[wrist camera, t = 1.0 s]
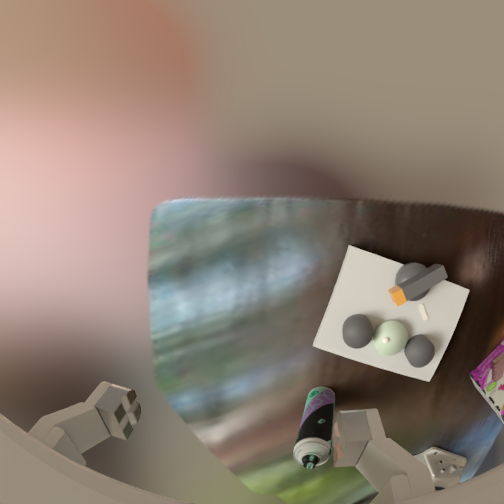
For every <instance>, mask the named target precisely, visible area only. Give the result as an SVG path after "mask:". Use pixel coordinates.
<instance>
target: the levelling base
mask: <svg viewBox="0 0 504 504" xmlns="http://www.w3.org/2000/svg"><path fill="white" fill-rule="evenodd" d="M402 266H403V264H401V263H398V262H395V261H393V260H390V259H387V258H384V257H381V256H379V255H376V254H373V253H370V252H367V251H364V250H361V249H359V248H356V247H353V246H350V245H349V246H348V250H347V253H346V256H345V259H344V262H343V265H342V268H341V271H340V273H339V276H338V279H337V282H336V285H335V288H334V290H333V293H332V296H331V299H330V301H329V304H328V307H327V309H326V312H325V314H324V317H323V320H322V322H321V325H320V327H319V330H318V332H317V335H316V337H315V340H314V343H313V346H314V347H317V348H320V349H323V350H326V351H329V352H331V353H334V354H337V355H340V356H343V357H346V358H350V359H353V360H356V361H359V362H362V363H365V364H368V365H372V366H375V367H378V368H382V369H385V370H388V371H392V372H395V373H399V374H402V375H406V376H409V377H413V378H417V379H421V380H424V381H428V382H429V381H430V380H431V378H432V376H433V374H434V372H435V370H436V368H437V366H438V364H439V362H440V360H441V358H442V356H443V354H444V352H445V350H446V348H447V346H448V344H449V341H450V339H451V337H452V335H453V332H454V330H455V328H456V325H457V323H458V320H459V318H460V315H461V312H462V310H463V307H464V304H465V302H466V299H467V296H468V293H469V289H466V288H464V287H461V286H459V285H456V284H454V283H451V282H448V281H446V280H443V281H441V282H440V283H438V284H436V285H434V286H433V287H431V288H430V290H429V292H428V293H427V295H426V296H425V297H424V298H422V299H420V300H418V301H409V300H408V301H407V302H405V303H404V304H402V305H400V306H397V305H396V304H395V303H394V302H393V301H392V298H391V296H390V294H389V291H388V289H390V288H392V287H394V286H396V285H395V278H396V274H397V272H398V270H399V269H400V268H401V267H402Z"/></svg>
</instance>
